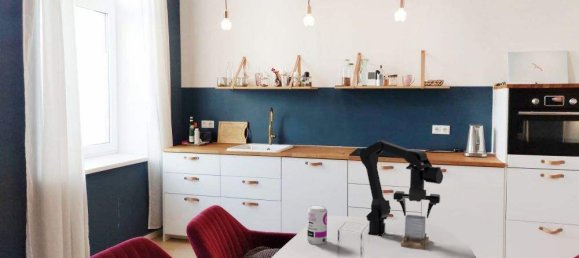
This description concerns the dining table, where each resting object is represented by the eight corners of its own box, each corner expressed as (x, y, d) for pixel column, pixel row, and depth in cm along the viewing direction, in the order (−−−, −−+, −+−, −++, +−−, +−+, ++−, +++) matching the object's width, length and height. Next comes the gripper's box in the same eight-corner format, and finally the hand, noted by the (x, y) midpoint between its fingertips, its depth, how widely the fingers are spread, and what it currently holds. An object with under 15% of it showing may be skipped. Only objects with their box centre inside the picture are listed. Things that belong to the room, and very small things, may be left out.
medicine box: (425, 236, 206) (425, 216, 205) (423, 239, 202) (424, 218, 201) (406, 233, 209) (407, 214, 208) (404, 236, 205) (405, 216, 204)
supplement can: (328, 240, 208) (329, 206, 207) (323, 245, 200) (324, 210, 199) (310, 238, 211) (311, 204, 210) (304, 243, 203) (305, 208, 202)
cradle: (400, 246, 201) (401, 239, 201) (405, 237, 213) (405, 231, 213) (425, 249, 198) (425, 242, 197) (428, 240, 210) (428, 233, 209)
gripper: (391, 182, 199) (390, 219, 200) (438, 185, 192) (437, 224, 194) (395, 177, 210) (395, 213, 211) (440, 181, 203) (439, 217, 204)
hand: (416, 217), depth 204 cm, fingers open, 9 cm apart
